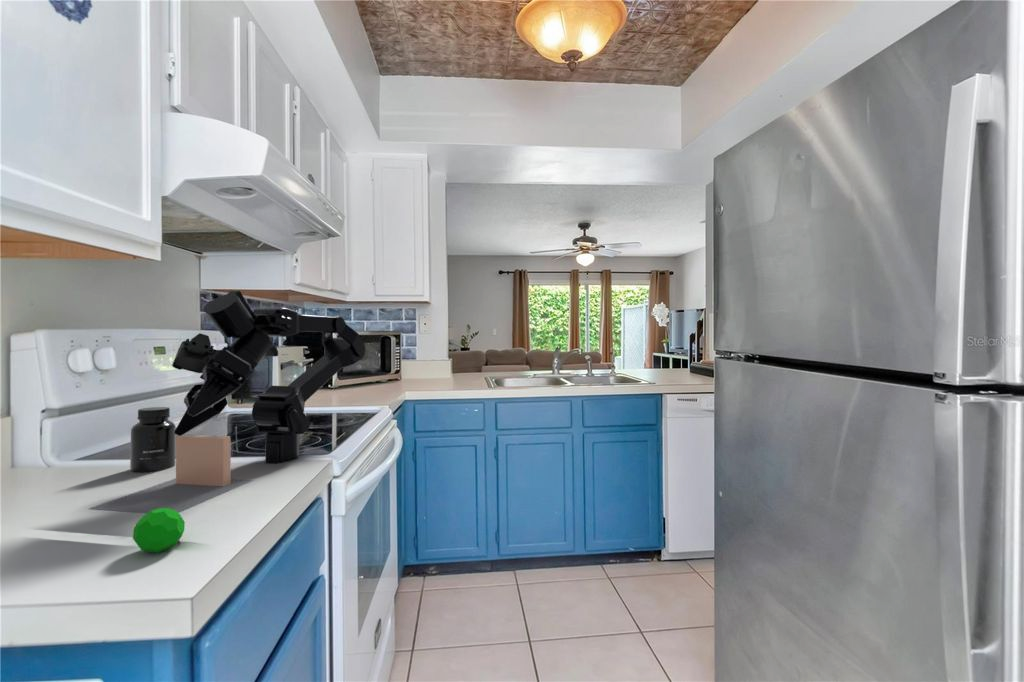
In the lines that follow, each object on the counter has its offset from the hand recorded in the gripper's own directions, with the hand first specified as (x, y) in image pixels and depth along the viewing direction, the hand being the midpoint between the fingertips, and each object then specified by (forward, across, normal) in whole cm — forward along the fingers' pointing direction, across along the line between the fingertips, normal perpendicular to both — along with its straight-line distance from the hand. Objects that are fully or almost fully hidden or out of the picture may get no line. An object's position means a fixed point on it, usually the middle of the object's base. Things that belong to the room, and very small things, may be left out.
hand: (183, 425), depth 75 cm
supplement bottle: (+1, -24, 0) cm, 24 cm away
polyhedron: (+19, +12, +8) cm, 24 cm away
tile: (+4, -8, +8) cm, 12 cm away
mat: (+8, -6, +6) cm, 12 cm away
